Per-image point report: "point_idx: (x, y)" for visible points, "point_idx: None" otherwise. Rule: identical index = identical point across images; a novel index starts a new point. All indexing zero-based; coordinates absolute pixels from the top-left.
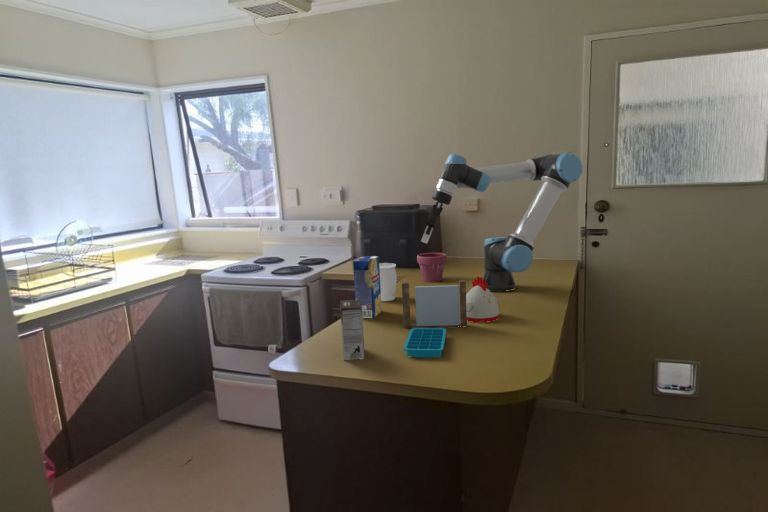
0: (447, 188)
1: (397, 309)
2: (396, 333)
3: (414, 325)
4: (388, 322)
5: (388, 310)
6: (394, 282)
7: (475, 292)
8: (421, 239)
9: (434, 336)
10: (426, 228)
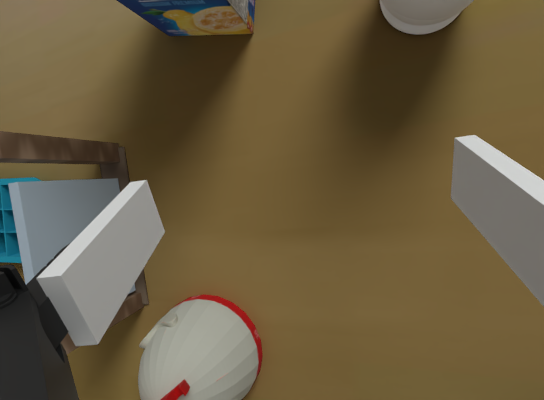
0: None
1: (274, 85)
2: (67, 136)
3: (120, 172)
4: (143, 92)
5: (261, 56)
6: (409, 11)
7: (142, 377)
8: (123, 190)
9: (7, 237)
10: (62, 261)
